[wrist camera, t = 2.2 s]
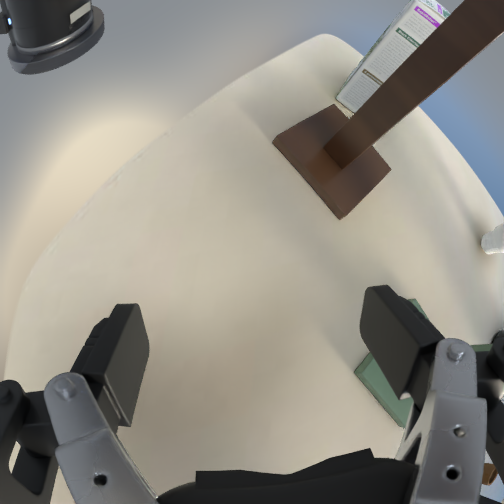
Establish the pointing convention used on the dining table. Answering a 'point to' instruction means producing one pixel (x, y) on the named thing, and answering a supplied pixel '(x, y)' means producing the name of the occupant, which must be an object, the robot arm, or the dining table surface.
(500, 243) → the lightbulb
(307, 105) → the dining table surface
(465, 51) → the brown pedestal stand
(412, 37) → the syrup box
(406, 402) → the green pedestal stand
